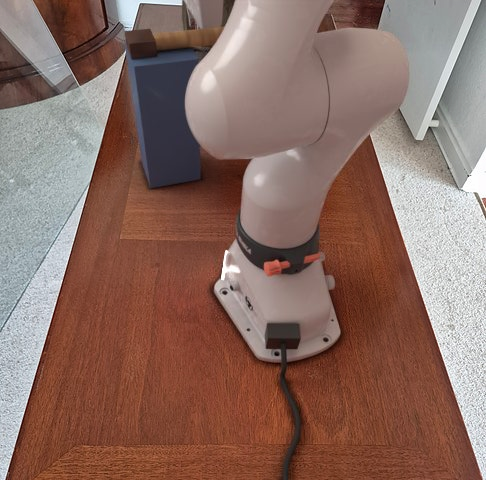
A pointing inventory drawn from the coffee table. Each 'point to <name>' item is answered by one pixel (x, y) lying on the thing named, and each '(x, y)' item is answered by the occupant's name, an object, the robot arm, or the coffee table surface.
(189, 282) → the coffee table surface
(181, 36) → the wooden mallet
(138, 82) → the pedestal
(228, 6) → the tabletop clock
